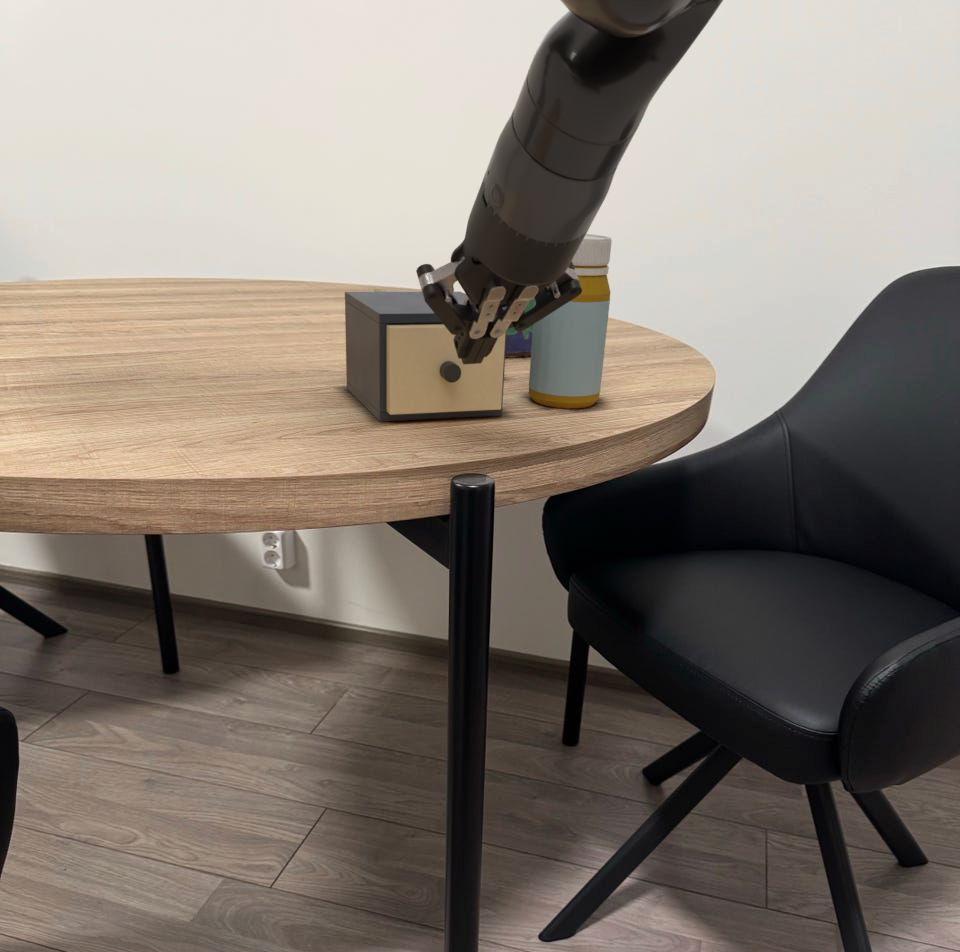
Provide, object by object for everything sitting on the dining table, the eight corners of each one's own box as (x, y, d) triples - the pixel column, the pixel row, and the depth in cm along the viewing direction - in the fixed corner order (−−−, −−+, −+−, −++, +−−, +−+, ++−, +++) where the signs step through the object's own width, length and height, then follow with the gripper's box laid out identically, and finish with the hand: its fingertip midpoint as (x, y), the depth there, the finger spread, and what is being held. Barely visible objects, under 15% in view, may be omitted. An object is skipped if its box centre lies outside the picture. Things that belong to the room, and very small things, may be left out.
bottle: (513, 399, 92) (524, 233, 85) (557, 389, 97) (571, 231, 90) (569, 413, 88) (585, 241, 81) (612, 402, 93) (631, 238, 86)
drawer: (506, 413, 84) (511, 328, 80) (393, 418, 80) (394, 330, 77) (459, 381, 94) (462, 304, 91) (358, 384, 91) (356, 305, 87)
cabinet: (502, 415, 86) (508, 312, 82) (379, 422, 83) (379, 313, 78) (457, 384, 97) (460, 291, 93) (346, 388, 93) (344, 291, 89)
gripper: (614, 147, 63) (529, 312, 79) (430, 142, 59) (378, 319, 74) (648, 238, 61) (554, 389, 77) (460, 241, 57) (401, 401, 72)
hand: (468, 354), depth 76 cm, fingers closed
